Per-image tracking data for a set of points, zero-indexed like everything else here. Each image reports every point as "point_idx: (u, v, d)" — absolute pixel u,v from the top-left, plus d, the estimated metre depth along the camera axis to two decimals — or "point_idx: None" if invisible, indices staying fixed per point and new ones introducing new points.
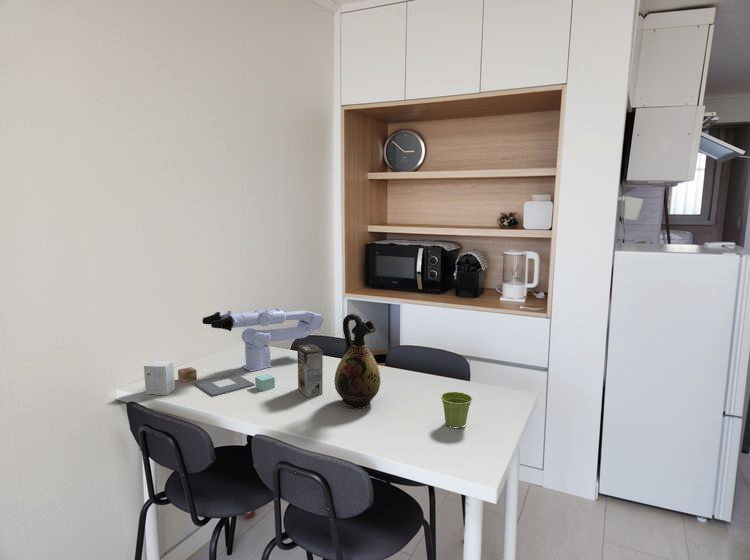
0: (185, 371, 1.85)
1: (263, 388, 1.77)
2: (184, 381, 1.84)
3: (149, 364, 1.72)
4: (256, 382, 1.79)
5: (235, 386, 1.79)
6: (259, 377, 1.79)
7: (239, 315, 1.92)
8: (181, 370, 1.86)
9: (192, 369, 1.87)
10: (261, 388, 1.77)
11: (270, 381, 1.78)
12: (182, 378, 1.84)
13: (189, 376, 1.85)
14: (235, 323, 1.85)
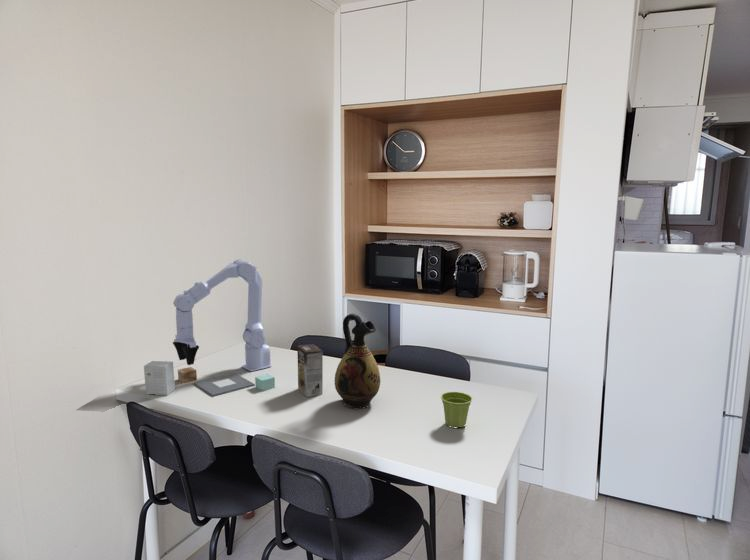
0: (185, 371, 1.85)
1: (263, 388, 1.77)
2: (184, 381, 1.84)
3: (149, 364, 1.72)
4: (256, 382, 1.79)
5: (235, 386, 1.79)
6: (259, 377, 1.79)
7: (181, 332, 1.81)
8: (181, 370, 1.86)
9: (192, 369, 1.87)
10: (261, 388, 1.77)
11: (270, 381, 1.78)
12: (182, 378, 1.84)
13: (189, 376, 1.85)
14: (192, 346, 1.79)
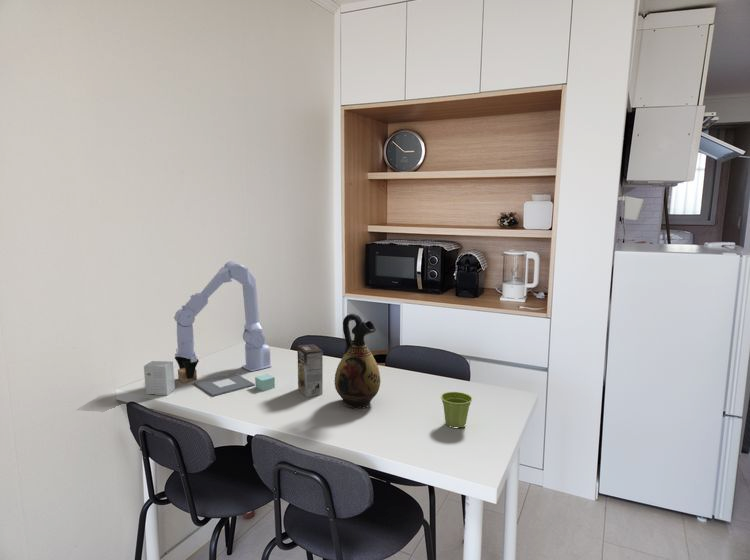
0: (185, 371, 1.85)
1: (263, 388, 1.77)
2: (184, 381, 1.84)
3: (149, 364, 1.72)
4: (256, 382, 1.79)
5: (235, 386, 1.79)
6: (259, 377, 1.79)
7: (181, 347, 1.82)
8: (181, 370, 1.86)
9: None
10: (261, 388, 1.77)
11: (270, 381, 1.78)
12: (182, 378, 1.84)
13: None
14: (193, 361, 1.80)
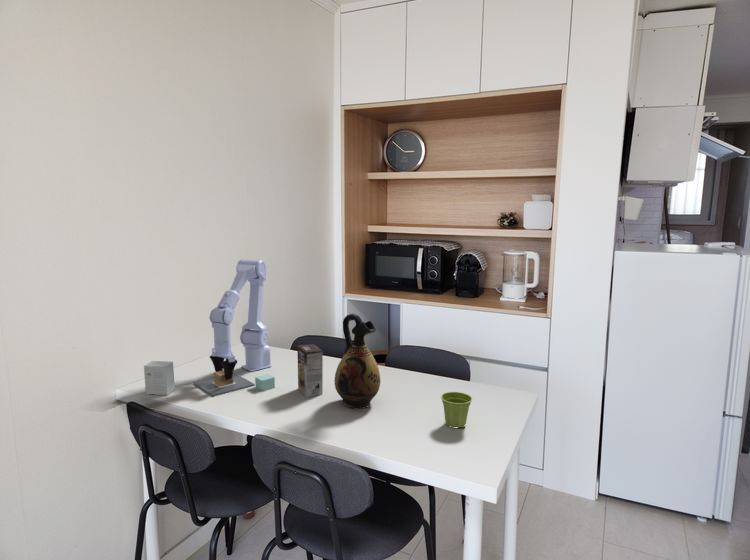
0: (222, 374, 1.80)
1: (263, 388, 1.77)
2: (221, 384, 1.79)
3: (149, 364, 1.72)
4: (256, 382, 1.79)
5: (235, 386, 1.79)
6: (259, 377, 1.79)
7: (219, 346, 1.77)
8: (217, 373, 1.81)
9: None
10: (261, 388, 1.77)
11: (271, 381, 1.78)
12: (219, 381, 1.79)
13: (225, 379, 1.80)
14: (231, 360, 1.75)
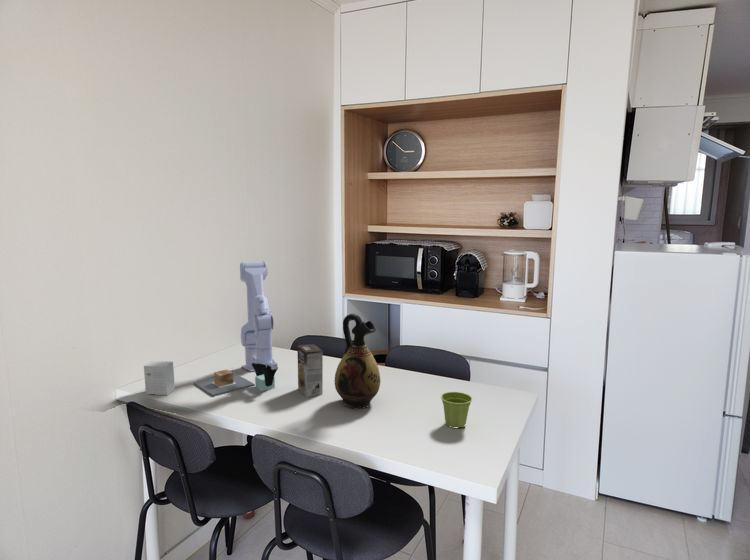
0: (222, 374, 1.80)
1: (263, 388, 1.77)
2: (221, 384, 1.79)
3: (149, 364, 1.72)
4: (256, 382, 1.79)
5: (235, 386, 1.79)
6: (259, 376, 1.79)
7: (261, 353, 1.75)
8: (217, 373, 1.81)
9: (228, 372, 1.82)
10: (261, 388, 1.77)
11: None
12: (219, 381, 1.79)
13: (225, 379, 1.80)
14: (274, 368, 1.73)
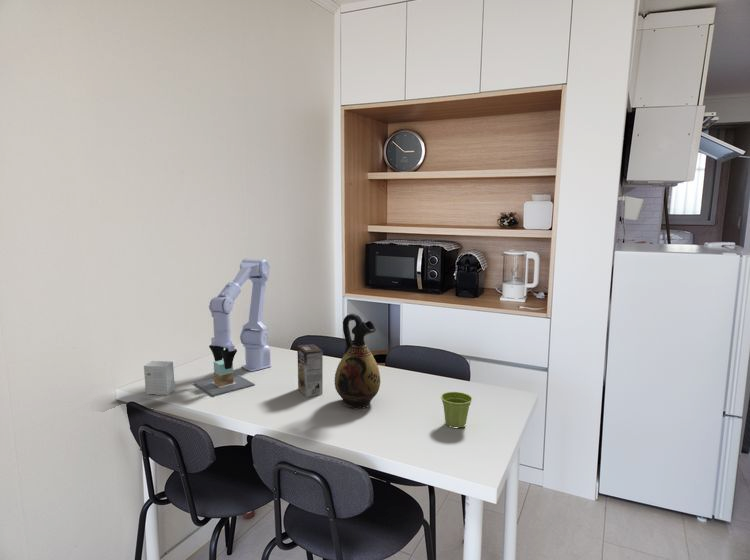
0: None
1: (221, 372, 1.78)
2: (221, 384, 1.79)
3: (149, 364, 1.72)
4: (214, 367, 1.81)
5: (235, 386, 1.79)
6: (218, 361, 1.81)
7: (218, 335, 1.76)
8: None
9: None
10: (219, 372, 1.78)
11: None
12: (219, 381, 1.79)
13: (225, 379, 1.80)
14: (230, 350, 1.74)
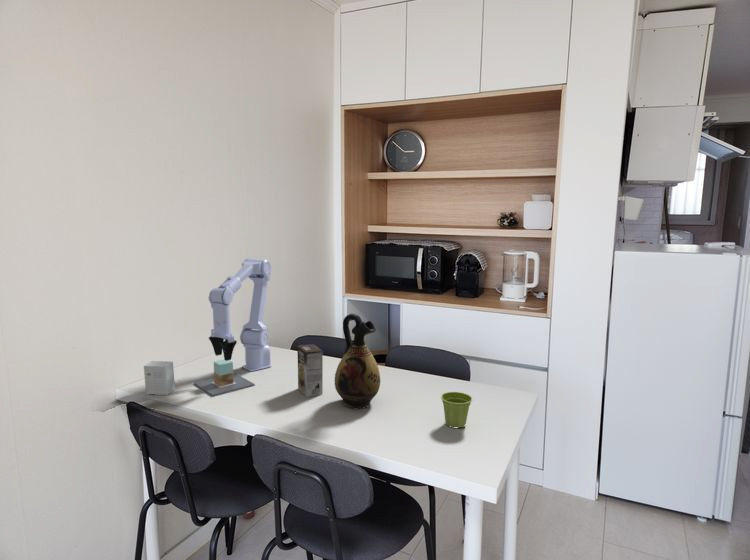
0: None
1: (221, 372, 1.78)
2: (221, 384, 1.79)
3: (149, 364, 1.72)
4: (214, 367, 1.81)
5: (235, 386, 1.79)
6: (218, 361, 1.81)
7: (218, 327, 1.76)
8: None
9: None
10: (219, 372, 1.78)
11: (228, 365, 1.80)
12: (219, 381, 1.79)
13: (225, 379, 1.80)
14: (230, 341, 1.74)
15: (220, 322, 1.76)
